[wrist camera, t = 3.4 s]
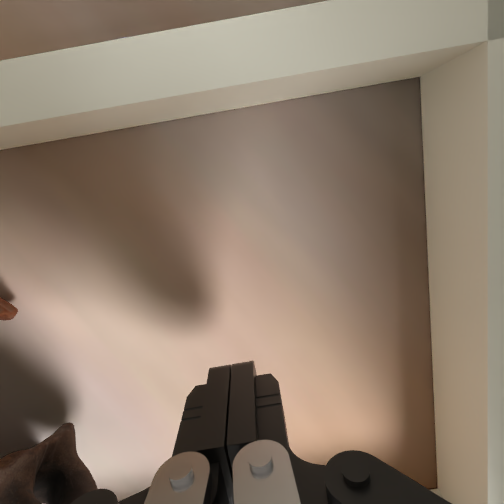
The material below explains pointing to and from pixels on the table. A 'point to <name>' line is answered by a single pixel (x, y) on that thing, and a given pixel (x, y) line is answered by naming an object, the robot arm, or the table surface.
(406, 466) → the table surface
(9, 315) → the pottery mug
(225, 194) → the table surface
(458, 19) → the cold frame
